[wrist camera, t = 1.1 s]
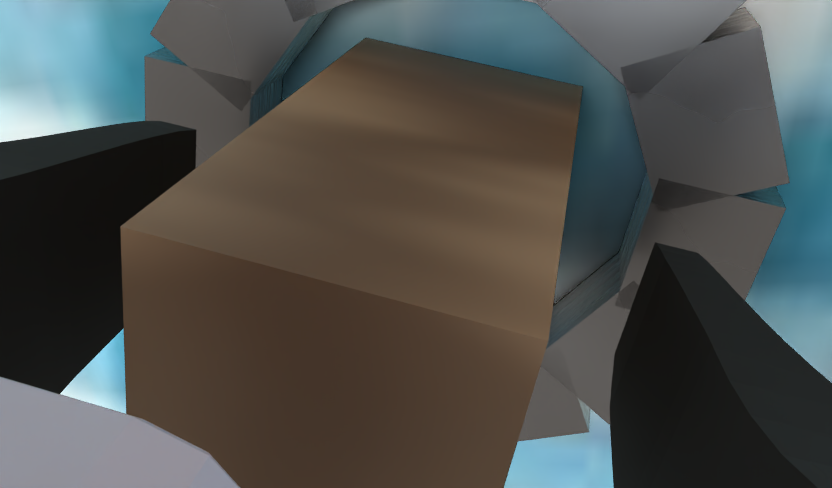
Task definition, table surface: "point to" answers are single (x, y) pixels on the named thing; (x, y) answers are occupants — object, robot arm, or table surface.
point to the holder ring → (654, 120)
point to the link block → (358, 277)
